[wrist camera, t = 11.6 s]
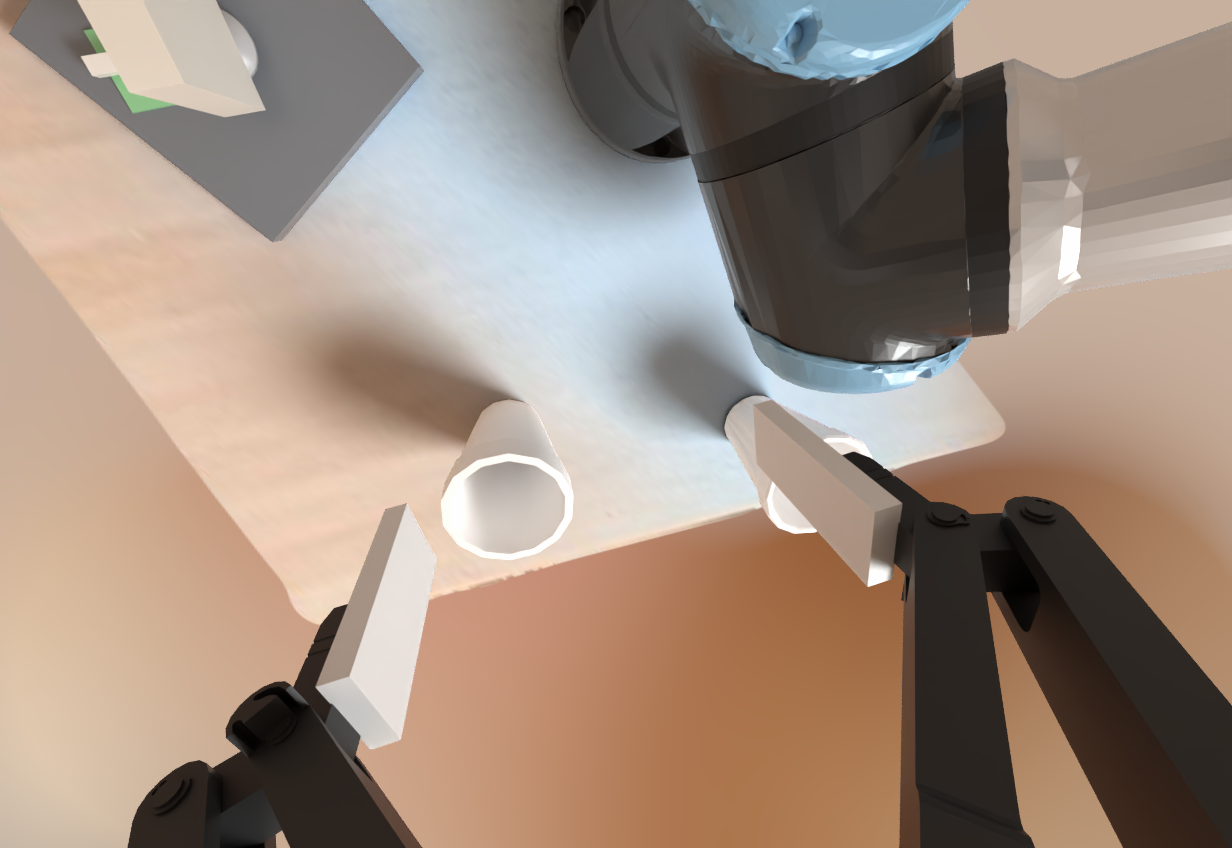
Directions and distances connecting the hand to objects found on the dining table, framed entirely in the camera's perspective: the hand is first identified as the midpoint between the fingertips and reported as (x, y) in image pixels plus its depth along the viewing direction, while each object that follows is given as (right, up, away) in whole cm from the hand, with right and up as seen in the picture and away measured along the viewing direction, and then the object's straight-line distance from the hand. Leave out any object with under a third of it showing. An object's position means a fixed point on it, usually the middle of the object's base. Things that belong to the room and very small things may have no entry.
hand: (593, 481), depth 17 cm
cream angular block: (-25, +24, +11) cm, 37 cm away
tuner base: (-23, +26, +12) cm, 37 cm away
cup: (+15, +3, +33) cm, 37 cm away
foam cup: (-10, +2, +28) cm, 29 cm away
